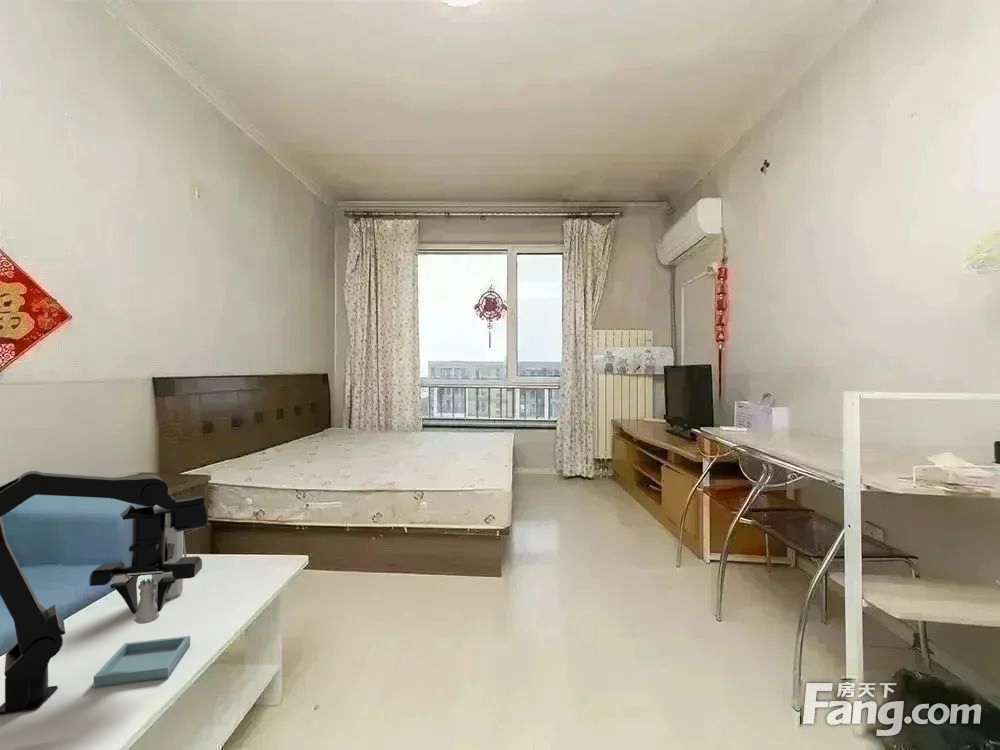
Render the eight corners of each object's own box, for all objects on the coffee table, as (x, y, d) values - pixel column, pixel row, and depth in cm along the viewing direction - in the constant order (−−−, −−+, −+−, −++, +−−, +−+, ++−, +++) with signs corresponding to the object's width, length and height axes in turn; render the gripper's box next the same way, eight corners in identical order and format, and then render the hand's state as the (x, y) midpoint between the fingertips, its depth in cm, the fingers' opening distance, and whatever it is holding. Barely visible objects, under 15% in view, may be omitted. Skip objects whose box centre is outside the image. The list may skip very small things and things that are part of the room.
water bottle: (165, 603, 134) (165, 508, 133) (143, 599, 136) (143, 505, 136) (196, 589, 142) (196, 499, 142) (175, 585, 145) (175, 497, 145)
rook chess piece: (130, 625, 103) (130, 586, 103) (138, 615, 107) (139, 577, 108) (155, 623, 104) (156, 583, 105) (163, 613, 109) (163, 575, 109)
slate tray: (167, 678, 101) (167, 667, 101) (93, 688, 98) (93, 676, 98) (190, 645, 113) (190, 635, 113) (124, 653, 110) (124, 643, 110)
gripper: (209, 523, 116) (208, 591, 116) (115, 528, 112) (113, 599, 111) (194, 537, 106) (192, 613, 105) (88, 544, 101) (86, 623, 101)
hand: (147, 611), depth 106 cm, fingers closed on rook chess piece, 4 cm apart
